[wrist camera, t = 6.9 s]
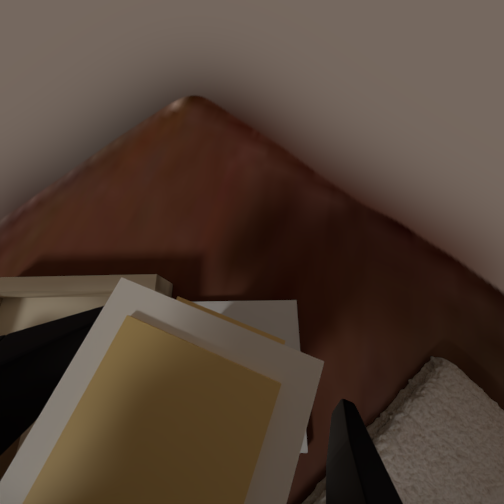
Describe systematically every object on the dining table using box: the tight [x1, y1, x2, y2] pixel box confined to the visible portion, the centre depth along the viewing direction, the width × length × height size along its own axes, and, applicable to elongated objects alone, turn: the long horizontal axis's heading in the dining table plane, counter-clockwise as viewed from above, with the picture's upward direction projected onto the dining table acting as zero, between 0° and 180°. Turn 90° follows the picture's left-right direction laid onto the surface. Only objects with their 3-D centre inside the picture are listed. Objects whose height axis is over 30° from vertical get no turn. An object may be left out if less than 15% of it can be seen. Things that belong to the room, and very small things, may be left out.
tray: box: [0, 274, 173, 454], centre depth 15 cm, size 14×14×3 cm
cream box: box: [0, 277, 324, 504], centre depth 10 cm, size 5×5×12 cm
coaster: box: [193, 300, 308, 453], centre depth 16 cm, size 9×9×1 cm
